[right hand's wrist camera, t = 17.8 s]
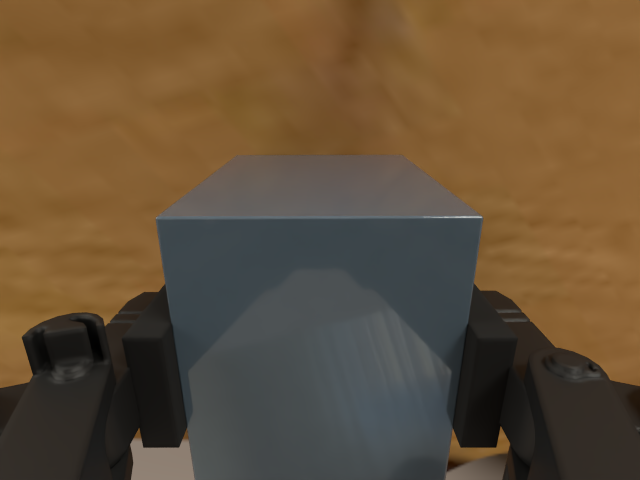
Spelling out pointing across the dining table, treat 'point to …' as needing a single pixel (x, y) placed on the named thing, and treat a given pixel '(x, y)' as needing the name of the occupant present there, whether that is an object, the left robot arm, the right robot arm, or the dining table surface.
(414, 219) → the block
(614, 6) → the dining table surface
